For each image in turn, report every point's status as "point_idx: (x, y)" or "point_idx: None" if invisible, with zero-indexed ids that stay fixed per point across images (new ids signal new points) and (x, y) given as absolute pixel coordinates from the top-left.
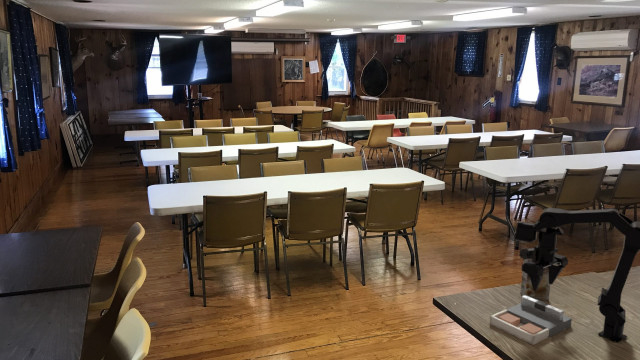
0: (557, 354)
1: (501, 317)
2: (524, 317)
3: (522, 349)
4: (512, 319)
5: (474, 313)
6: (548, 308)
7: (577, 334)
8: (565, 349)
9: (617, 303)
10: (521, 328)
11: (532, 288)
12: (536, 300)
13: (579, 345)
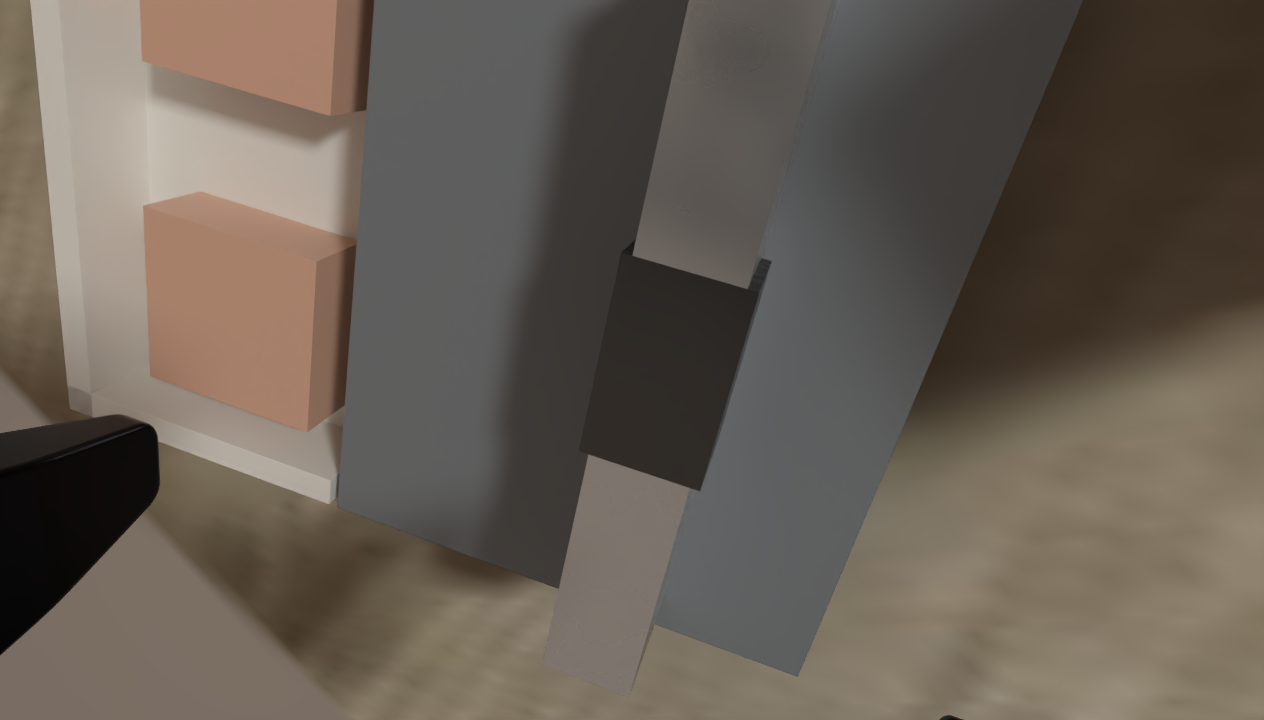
0: (194, 565)
1: None
2: (366, 166)
3: (21, 316)
4: (224, 35)
5: None
6: (583, 494)
7: (659, 665)
8: (312, 605)
9: None
10: (154, 224)
11: None
12: (731, 251)
13: (463, 690)
